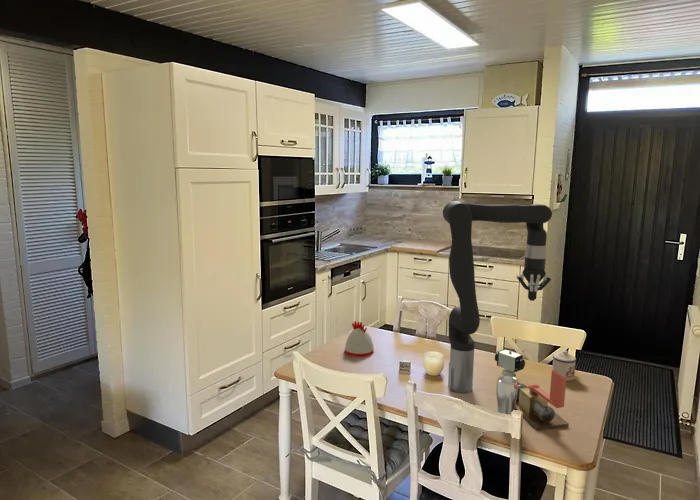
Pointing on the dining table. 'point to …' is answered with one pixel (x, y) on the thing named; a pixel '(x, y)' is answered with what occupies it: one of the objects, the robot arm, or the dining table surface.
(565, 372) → the teacup with lid
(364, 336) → the grey beanie hat
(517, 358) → the pneumatic valve
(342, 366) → the dining table surface
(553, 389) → the lever
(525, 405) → the valve body
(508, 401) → the grey vase
